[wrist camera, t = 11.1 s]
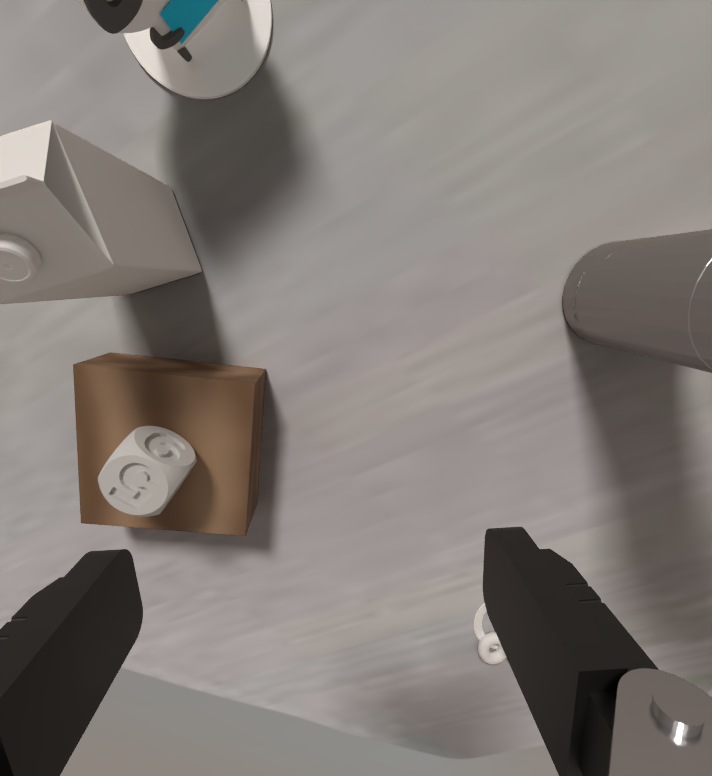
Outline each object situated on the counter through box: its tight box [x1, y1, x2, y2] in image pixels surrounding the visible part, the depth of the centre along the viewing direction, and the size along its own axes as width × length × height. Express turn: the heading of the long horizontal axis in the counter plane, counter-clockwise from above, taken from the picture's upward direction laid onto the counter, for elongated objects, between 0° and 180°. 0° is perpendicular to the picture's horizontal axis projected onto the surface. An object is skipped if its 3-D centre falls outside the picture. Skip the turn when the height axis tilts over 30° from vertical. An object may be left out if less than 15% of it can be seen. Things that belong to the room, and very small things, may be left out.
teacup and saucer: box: [474, 603, 507, 664], centre depth 46 cm, size 9×8×4 cm
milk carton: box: [0, 121, 202, 304], centre depth 26 cm, size 7×7×19 cm
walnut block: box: [73, 353, 266, 536], centre depth 37 cm, size 14×14×6 cm
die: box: [98, 426, 197, 517], centre depth 32 cm, size 5×5×5 cm
